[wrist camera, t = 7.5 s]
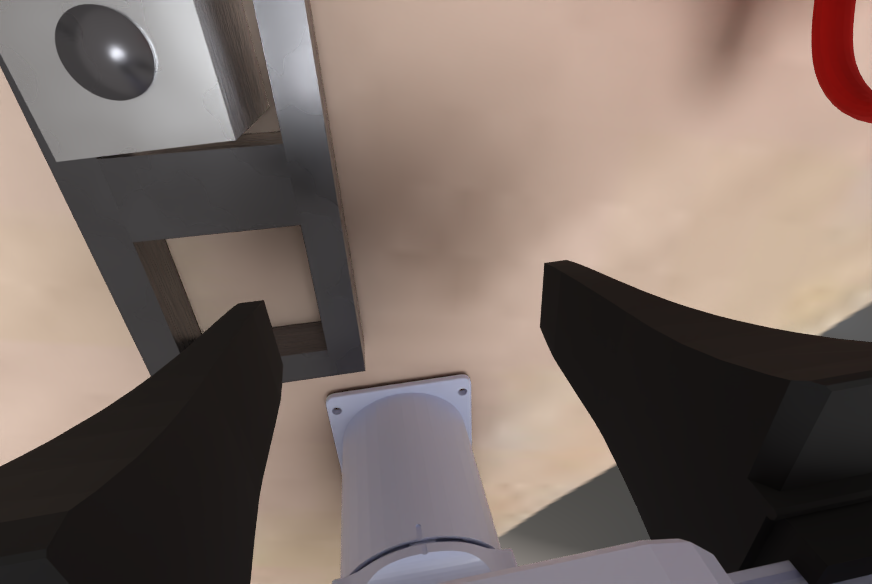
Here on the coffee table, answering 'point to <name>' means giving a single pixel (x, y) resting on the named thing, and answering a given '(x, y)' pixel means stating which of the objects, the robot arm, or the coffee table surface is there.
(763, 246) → the coffee table surface
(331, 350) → the dark grey double frame
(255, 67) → the block
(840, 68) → the ceramic cup
